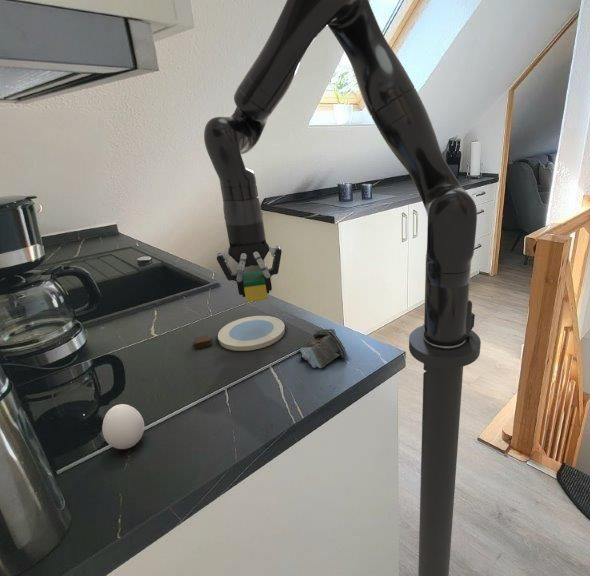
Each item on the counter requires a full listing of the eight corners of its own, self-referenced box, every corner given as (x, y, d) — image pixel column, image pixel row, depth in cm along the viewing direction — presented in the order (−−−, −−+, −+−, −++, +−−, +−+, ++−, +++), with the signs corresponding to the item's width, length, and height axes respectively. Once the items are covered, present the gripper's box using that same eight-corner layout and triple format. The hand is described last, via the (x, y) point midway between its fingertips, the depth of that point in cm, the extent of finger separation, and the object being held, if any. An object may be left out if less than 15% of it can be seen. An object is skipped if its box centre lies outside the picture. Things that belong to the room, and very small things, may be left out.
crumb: (194, 337, 91) (195, 343, 92) (195, 343, 88) (196, 349, 89) (208, 334, 92) (209, 340, 93) (209, 340, 90) (210, 345, 90)
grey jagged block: (288, 351, 88) (293, 335, 78) (314, 332, 92) (322, 315, 81) (315, 385, 87) (324, 373, 77) (340, 365, 91) (352, 351, 80)
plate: (281, 315, 104) (280, 311, 103) (289, 343, 91) (288, 338, 90) (219, 325, 99) (218, 321, 99) (217, 356, 86) (216, 351, 86)
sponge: (245, 291, 94) (242, 272, 92) (265, 288, 95) (262, 270, 94) (246, 302, 88) (243, 283, 86) (267, 299, 89) (264, 280, 88)
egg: (128, 461, 60) (114, 421, 57) (101, 453, 61) (86, 414, 58) (156, 436, 64) (145, 398, 61) (130, 430, 66) (118, 392, 63)
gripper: (206, 227, 80) (222, 305, 86) (280, 219, 84) (290, 295, 90) (208, 219, 86) (222, 293, 93) (276, 213, 90) (286, 283, 97)
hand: (256, 293), depth 91 cm, fingers closed on sponge, 4 cm apart
